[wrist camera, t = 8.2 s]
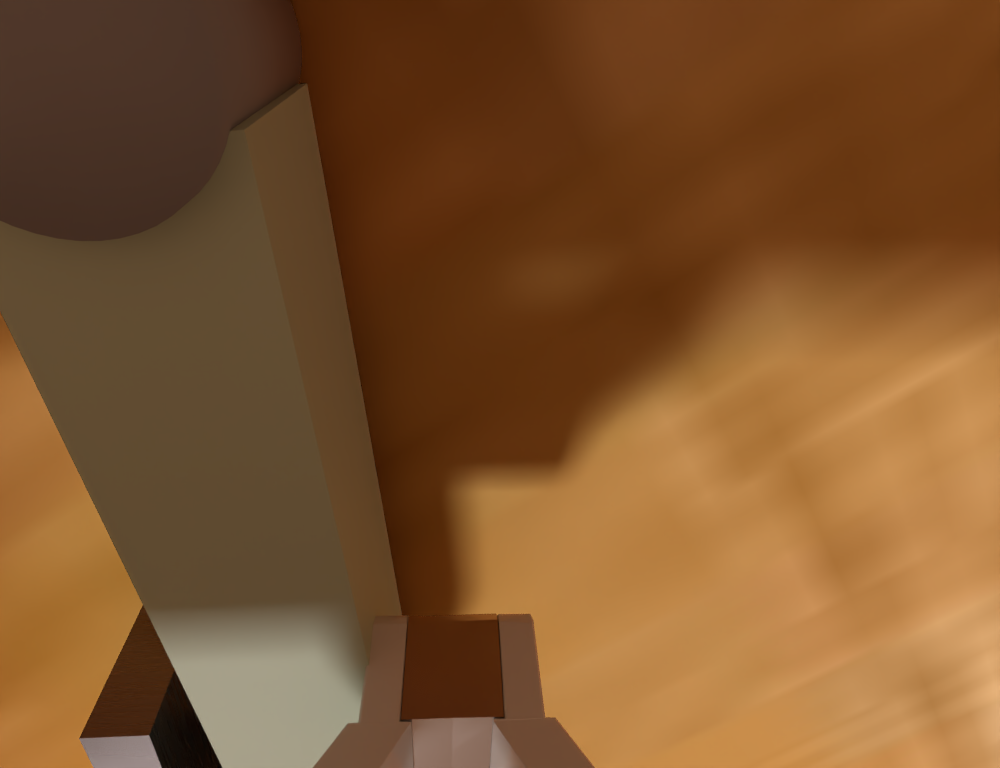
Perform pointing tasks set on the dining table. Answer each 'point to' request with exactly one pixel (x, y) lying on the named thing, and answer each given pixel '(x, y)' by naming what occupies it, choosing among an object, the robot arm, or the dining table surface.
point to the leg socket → (145, 712)
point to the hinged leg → (199, 347)
